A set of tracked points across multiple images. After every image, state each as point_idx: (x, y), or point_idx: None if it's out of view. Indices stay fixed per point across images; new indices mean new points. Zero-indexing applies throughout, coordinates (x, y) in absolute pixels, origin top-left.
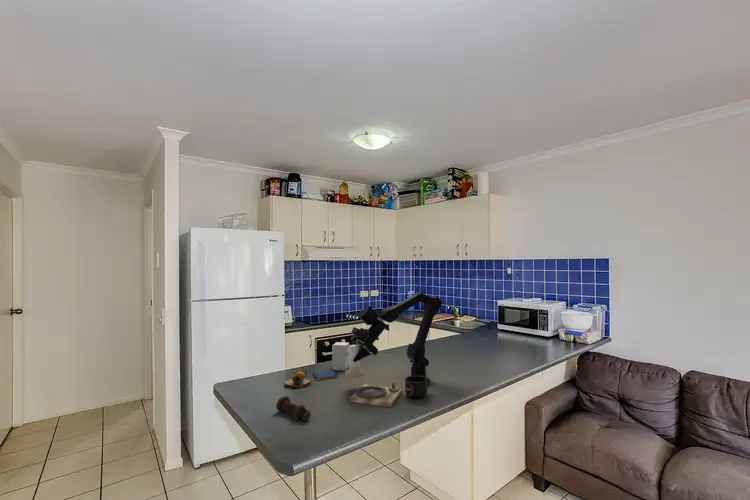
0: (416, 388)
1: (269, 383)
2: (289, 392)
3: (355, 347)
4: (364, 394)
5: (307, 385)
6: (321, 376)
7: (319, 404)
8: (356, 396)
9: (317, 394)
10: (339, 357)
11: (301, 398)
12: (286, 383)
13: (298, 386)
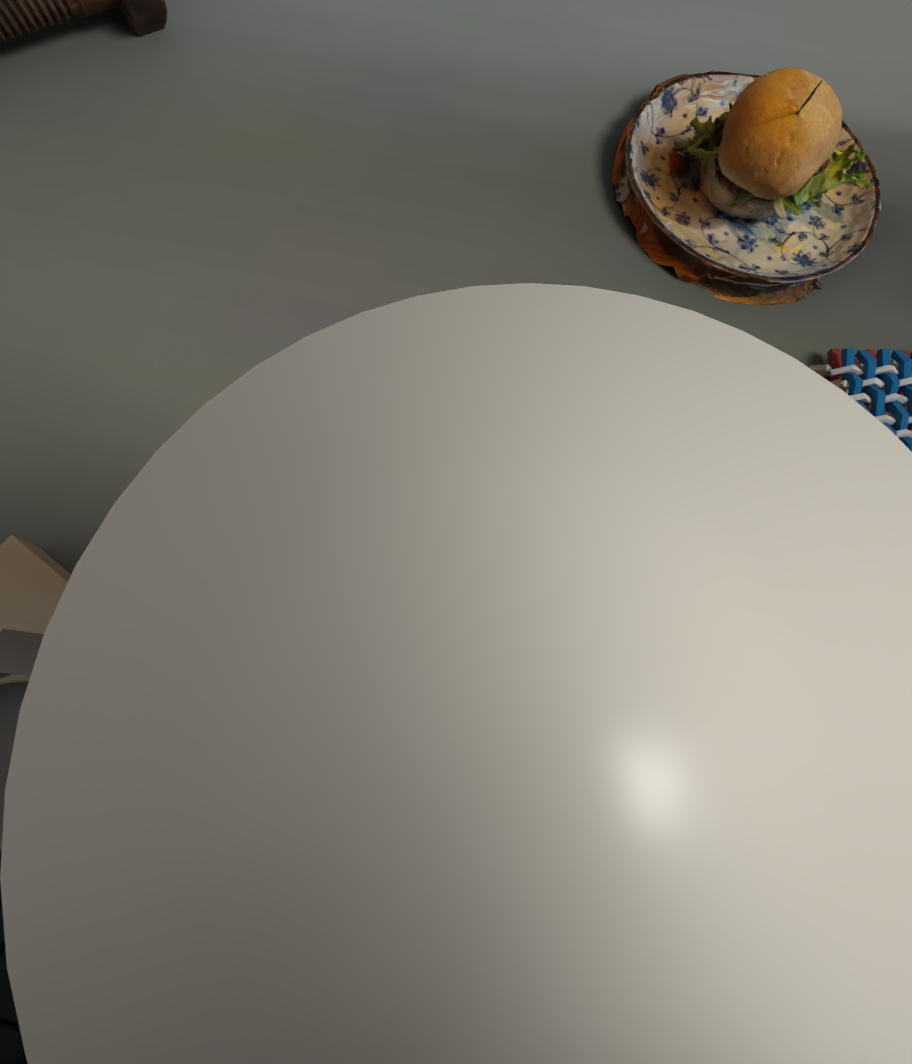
0: None
1: (802, 13)
2: (535, 103)
3: (22, 735)
4: (4, 750)
5: (655, 248)
6: (859, 398)
7: (125, 261)
8: (2, 627)
9: (395, 294)
10: None
11: (349, 158)
12: (728, 90)
13: (625, 163)
